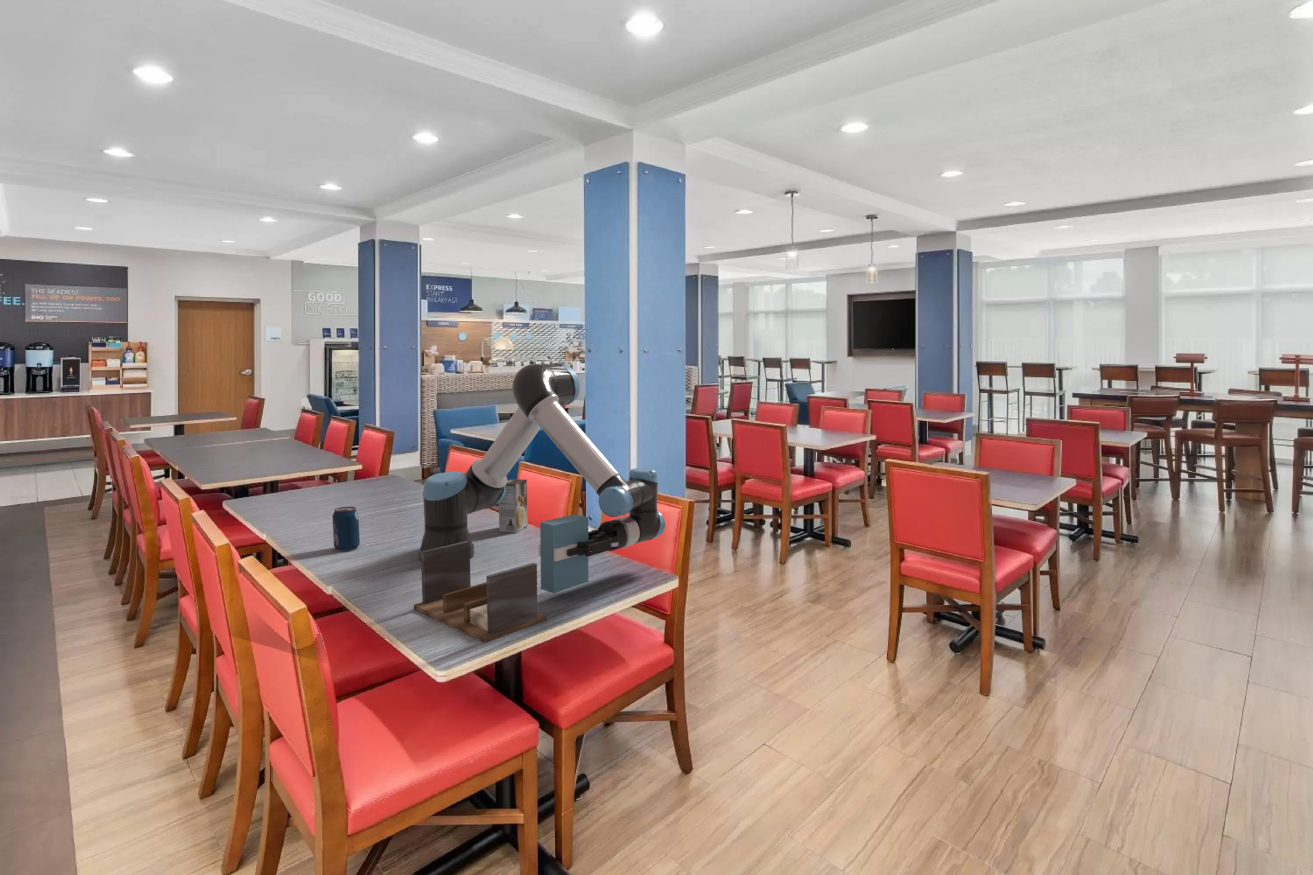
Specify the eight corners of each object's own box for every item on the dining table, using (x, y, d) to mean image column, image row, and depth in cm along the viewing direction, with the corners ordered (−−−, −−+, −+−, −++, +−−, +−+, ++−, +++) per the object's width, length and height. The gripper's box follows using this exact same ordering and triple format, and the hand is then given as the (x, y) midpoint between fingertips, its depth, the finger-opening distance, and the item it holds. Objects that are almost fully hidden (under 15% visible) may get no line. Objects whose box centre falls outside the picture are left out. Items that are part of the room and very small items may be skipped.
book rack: (413, 608, 155) (411, 553, 153) (474, 590, 167) (472, 538, 165) (484, 642, 137) (482, 579, 136) (545, 619, 149) (545, 562, 148)
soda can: (364, 545, 204) (362, 506, 203) (352, 552, 197) (350, 511, 196) (342, 545, 205) (340, 505, 203) (329, 551, 198) (327, 511, 197)
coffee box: (510, 525, 230) (509, 478, 228) (528, 526, 229) (527, 479, 227) (498, 532, 221) (497, 483, 219) (517, 533, 220) (516, 484, 218)
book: (540, 588, 160) (540, 522, 158) (575, 577, 169) (575, 514, 167) (553, 593, 157) (553, 525, 155) (588, 581, 166) (588, 517, 164)
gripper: (642, 554, 170) (573, 577, 153) (593, 541, 182) (523, 561, 164) (643, 525, 169) (572, 544, 152) (593, 513, 181) (523, 530, 163)
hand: (547, 553), depth 158 cm, fingers closed on book, 4 cm apart
